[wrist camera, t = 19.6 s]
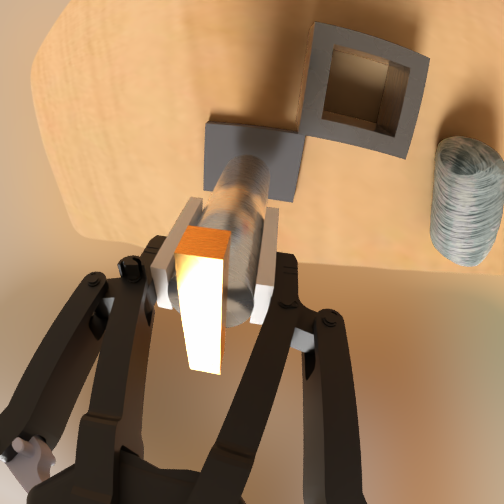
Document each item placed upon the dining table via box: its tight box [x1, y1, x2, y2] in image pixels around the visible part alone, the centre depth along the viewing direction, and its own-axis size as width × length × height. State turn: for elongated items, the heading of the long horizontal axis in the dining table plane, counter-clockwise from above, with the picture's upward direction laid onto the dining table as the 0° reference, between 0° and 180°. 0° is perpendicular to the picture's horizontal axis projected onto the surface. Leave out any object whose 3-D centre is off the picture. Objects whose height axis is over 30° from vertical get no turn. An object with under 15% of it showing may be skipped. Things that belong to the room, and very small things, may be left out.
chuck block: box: [296, 22, 430, 160], centre depth 18 cm, size 9×9×5 cm
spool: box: [430, 136, 504, 267], centre depth 21 cm, size 14×10×10 cm
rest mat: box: [204, 121, 305, 202], centre depth 26 cm, size 7×9×1 cm
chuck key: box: [167, 155, 270, 374], centre depth 17 cm, size 4×8×16 cm, turn 175°
